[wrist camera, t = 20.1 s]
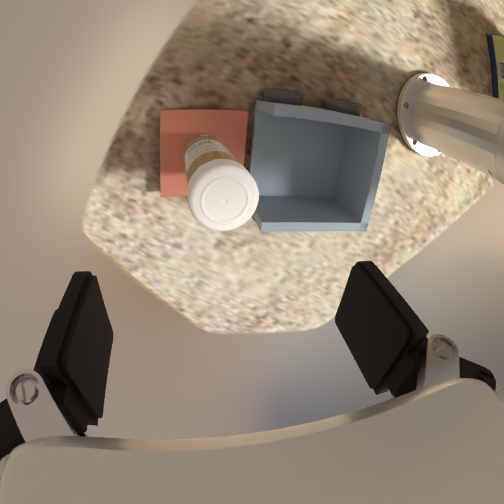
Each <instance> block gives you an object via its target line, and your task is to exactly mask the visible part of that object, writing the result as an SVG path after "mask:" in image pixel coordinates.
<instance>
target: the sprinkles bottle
mask: <svg viewBox="0 0 504 504" xmlns="http://www.w3.org/2000/svg"><path fill="white" fill-rule="evenodd" d="M182 158H183V163H184V164H185V165H184V170H185V176H186V179H187V183H188V187H187V198H188V204H189V208H190V211H191V213H192V215H193V216H194V218H195V219H196V220H197V221H198V222H199V223H200V224H201V225H203V226H204V227H206V228H208V229H212V230H216V231H226V230H231V229H235V228H237V227H239V226H241V225H242V224H244V223H245V222H246V221H248V220H249V219H250V217H251V216H252V215H253V213H254V212H255V210H256V207H257V205H258V201H259V191H258V187H257V184H256V182H255V180H254V178H253V177H252V176H251V174H250V173H249V172H248V170H247V169H246V168H245V167H244V166H242V165H241V164H239V163H238V162H237V160H236V159H235V158H234V157H233V155H232V154H231V153H230V152H229V151H228V150H227V148H226V147H225V146H224V145H223V143H222V142H221V141H220V140H219V139H218V138H216V137H215V136H213V135H209V134H202V135H198V136H195V137H193V138H192V139H190V140H189V141H188V142H187V144H186V145H185V147H184V149H183V153H182Z"/></svg>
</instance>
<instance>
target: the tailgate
mask: <svg viewBox="0 0 504 504" xmlns="http://www.w3.org/2000/svg"><path fill="white" fill-rule="evenodd" d="M247 123H248V111H241V110H213V109H181V110H161V111H160V186H161V197H171V196H187V187H188V183H187V179H186V176H185V170H184V165H185V164H184V163H183V158H182V153H183V149H184V147H185V145H186V144H187V142H188V141H189V140H190V139H192V138H193V137H195V136H198V135H202V134H209V135H213V136H215V137H216V138H218V139H219V140H220V141H221V142H222V143H223V145H224V146H225V147H226V148H227V150H228V151H229V152H230V153H231V154H232V155H233V157H234V158H235V159H236V160H237V162H238V163H239V164H241V165H242V166H244V158H245V146H246V134H247Z"/></svg>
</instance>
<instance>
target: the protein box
mask: <svg viewBox="0 0 504 504" xmlns="http://www.w3.org/2000/svg"><path fill="white" fill-rule="evenodd" d="M487 40H488V47H489V54H490V62H491V72H492V84H493V97H495V98H498V99H502V100H504V36H497V35H488V34H487Z"/></svg>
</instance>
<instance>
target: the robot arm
mask: <svg viewBox="0 0 504 504" xmlns="http://www.w3.org/2000/svg"><path fill="white" fill-rule="evenodd" d="M397 117H398V125H399V129H400V132H401V134H402V137H403V139H404V141H405V142H406V144H407V145H408V146H409V147H410V148H411V149H412V150H413V151H415V152H416V153H418V154H421V155H423V156H427V157H431V156H436V155H439V154H440V153H444V154H446V155H448V156H451V157H453V158H455V159H457V160H459V161H461V162H463V163H465V164H467V165H469V166H471V167H473V168H475V169H477V170H479V171H481V172H483V173H485V174H486V175H488V176H490V177H492V178H494V179H496V180H497V181H499V182H501V183H502V184H504V100H502V99H498V98H495V97H491V96H488V95H484V94H480V93H476V92H472V91H467V90H463V89H458V88H453V87H450V86H449V85H448V83H447V82H446V81H445V80H444V79H442V78H441V77H439V76H438V75H435V74H432V73H419V74H416V75H414V76H413V77H411V78H410V79H409V80H408V81H407V82H406V83H405V85H404V87H403V89H402V91H401V93H400V96H399V100H398V106H397ZM335 323H336V325H337V327H338V329H339V331H340V333H341V334H342V336H343V338H344V340H345V342H346V344H347V346H348V347H349V349H350V351H351V353H352V355H353V357H354V359H355V361H356V362H357V364H358V366H359V368H360V370H361V372H362V374H363V376H364V378H365V379H366V382H367V383H368V385H369V387H370V388H372V389H374V391H375V393H376V395H378V394H381V393H383V392H386V391H388V390H390V392H391V396H390V400H387V401H385V402H382V403H379V404H376V405H373V406H370V407H367V408H363V409H360V410H357V411H353V412H350V413H346V414H343V415H339V416H335V417H332V418H328V419H324V420H320V421H315V422H311V423H307V424H302V425H298V426H293V427H287V428H282V429H276V430H270V431H264V432H257V433H250V434H242V435H234V436H224V437H212V438H198V439H171V440H170V439H169V440H168V439H167V440H158V439H154V440H153V439H118V438H104V437H88V436H87V434H86V433H85V432H86V431H87V425H96V426H97V425H98V418H102V416H103V408H104V398H105V389H106V382H107V374H108V367H109V361H110V354H111V349H112V343H113V330H112V327H111V324H110V321H109V318H108V315H107V311H106V308H105V305H104V301H103V298H102V294H101V291H100V287H99V284H98V280H97V277H96V276H92V273H91V272H89V271H84V272H83V271H82V272H75V273H74V274H73V276H72V279H71V281H70V283H69V285H68V287H67V289H66V292H65V294H64V296H63V299H62V301H61V303H60V306H59V308H58V309H57V310H56V311H55V312H54V314H53V317H52V319H51V322H50V324H49V327H48V329H47V332H46V335H45V338H44V340H43V343H42V346H41V349H40V352H39V355H38V358H37V361H36V364H35V367H34V370H29V369H28V370H27V369H26V370H21V371H19V372H17V373H15V374H14V375H13V376H12V377H11V378H10V380H9V382H8V384H7V387H6V396H7V399H5V400H4V401H2V402H1V403H0V504H504V387H502V386H501V385H500V384H497V385H496V380H495V378H494V376H493V374H492V372H491V371H490V370H488V369H487V368H485V367H483V366H480V365H478V364H475V363H473V362H471V361H468V360H466V359H463V358H461V357H459V351H458V348H457V346H456V344H455V343H454V342H453V341H452V340H451V339H450V338H448V337H446V336H444V335H440V334H434V335H432V336H431V337H430V338H429V339H428V338H427V337H426V335H427V334H428V332H429V331H428V329H427V328H426V327H425V325H424V324H423V323H422V322H421V320H420V319H419V318H418V316H417V315H416V314H415V313H414V311H413V310H412V309H411V307H410V306H409V305H408V304H407V302H406V301H405V300H404V299H403V297H402V296H401V295H400V294H399V293H398V291H397V290H396V289H395V288H394V287H393V285H392V284H391V283H390V282H389V280H388V279H387V278H386V277H385V276H384V274H383V273H382V272H381V271H380V270H379V269H378V267H377V266H376V265H375V264H374V263H373V262H372V261H360V262H357V263H356V264H355V266H353V267H352V269H351V272H350V275H349V278H348V281H347V284H346V287H345V290H344V293H343V296H342V299H341V302H340V305H339V307H338V310H337V313H336V316H335Z"/></svg>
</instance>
